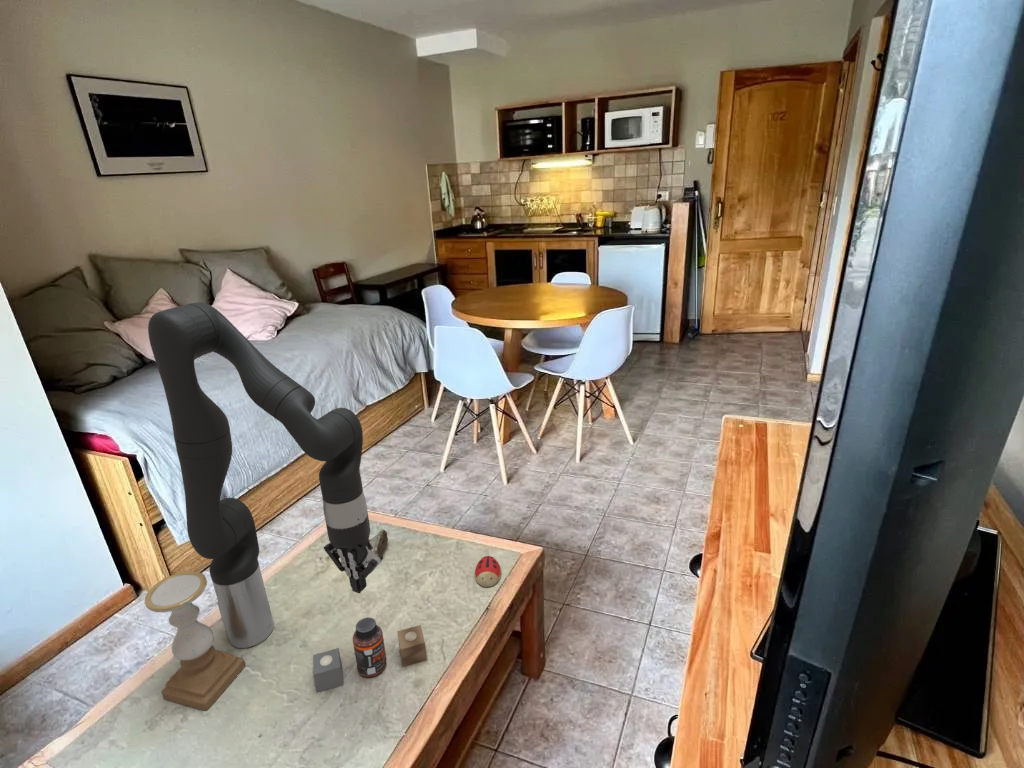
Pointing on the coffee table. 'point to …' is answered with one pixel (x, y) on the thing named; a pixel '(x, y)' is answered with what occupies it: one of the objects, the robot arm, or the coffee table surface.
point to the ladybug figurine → (487, 571)
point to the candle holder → (192, 643)
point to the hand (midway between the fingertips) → (359, 589)
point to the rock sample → (379, 542)
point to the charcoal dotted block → (327, 670)
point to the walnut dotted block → (412, 645)
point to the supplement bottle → (369, 648)
